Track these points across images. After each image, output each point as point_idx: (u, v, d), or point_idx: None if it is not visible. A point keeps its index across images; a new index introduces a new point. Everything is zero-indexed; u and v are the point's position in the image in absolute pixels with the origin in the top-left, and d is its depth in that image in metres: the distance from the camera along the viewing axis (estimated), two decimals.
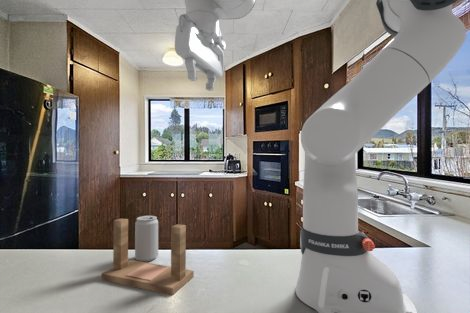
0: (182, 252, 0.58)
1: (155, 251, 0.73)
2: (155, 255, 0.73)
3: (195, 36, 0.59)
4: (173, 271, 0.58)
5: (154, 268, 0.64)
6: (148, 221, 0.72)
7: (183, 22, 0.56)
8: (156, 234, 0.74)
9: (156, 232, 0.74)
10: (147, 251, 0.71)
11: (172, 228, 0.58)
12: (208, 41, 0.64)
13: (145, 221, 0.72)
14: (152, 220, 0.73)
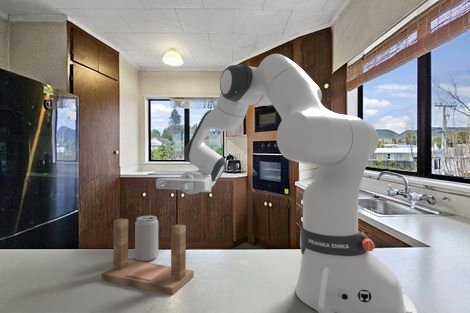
0: (182, 252, 0.58)
1: (155, 251, 0.73)
2: (155, 255, 0.73)
3: (171, 178, 0.97)
4: (173, 271, 0.58)
5: (154, 268, 0.64)
6: (148, 221, 0.72)
7: None
8: (156, 234, 0.74)
9: (156, 232, 0.74)
10: (147, 251, 0.71)
11: (172, 228, 0.58)
12: (184, 176, 0.96)
13: (145, 221, 0.72)
14: (152, 220, 0.73)
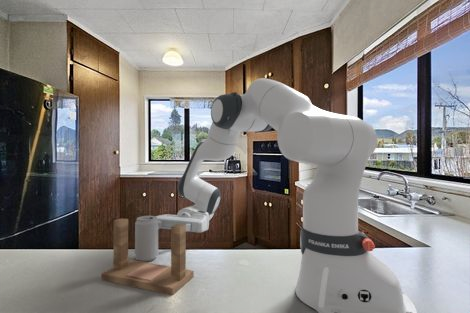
0: (182, 252, 0.58)
1: (155, 251, 0.73)
2: (155, 255, 0.73)
3: (167, 216, 0.94)
4: (173, 271, 0.58)
5: (154, 268, 0.64)
6: (148, 221, 0.72)
7: None
8: (156, 234, 0.74)
9: (156, 232, 0.74)
10: (147, 251, 0.71)
11: (172, 228, 0.58)
12: (180, 214, 0.93)
13: (145, 221, 0.72)
14: (152, 220, 0.73)
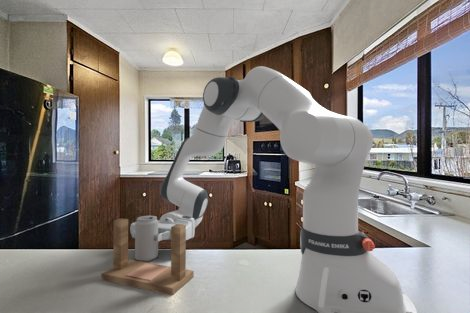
0: (182, 252, 0.58)
1: (155, 251, 0.73)
2: (155, 255, 0.73)
3: None
4: (173, 271, 0.58)
5: (154, 268, 0.64)
6: (148, 221, 0.72)
7: None
8: None
9: (156, 232, 0.74)
10: (147, 251, 0.71)
11: (172, 228, 0.58)
12: (163, 220, 0.84)
13: (145, 221, 0.72)
14: (152, 220, 0.73)
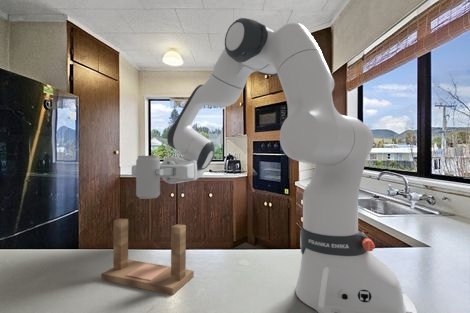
0: (182, 252, 0.58)
1: (157, 189, 0.71)
2: (157, 193, 0.71)
3: None
4: (173, 271, 0.58)
5: (154, 268, 0.64)
6: (149, 157, 0.70)
7: None
8: None
9: None
10: (149, 188, 0.69)
11: (172, 228, 0.58)
12: (165, 163, 0.82)
13: (146, 157, 0.70)
14: (153, 157, 0.71)
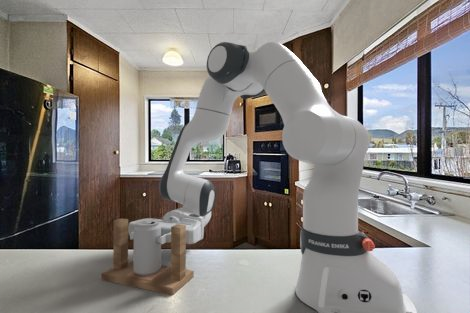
0: (182, 252, 0.58)
1: (158, 263, 0.61)
2: (158, 267, 0.61)
3: None
4: (173, 271, 0.58)
5: None
6: (149, 227, 0.60)
7: None
8: None
9: None
10: (148, 263, 0.59)
11: (172, 228, 0.58)
12: (167, 218, 0.72)
13: (146, 227, 0.59)
14: (154, 225, 0.60)
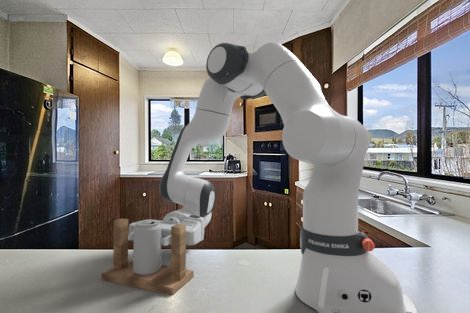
0: (182, 252, 0.58)
1: (158, 263, 0.61)
2: (158, 267, 0.61)
3: None
4: (173, 271, 0.58)
5: None
6: (149, 227, 0.60)
7: None
8: (159, 242, 0.61)
9: (159, 240, 0.61)
10: (148, 263, 0.59)
11: (172, 228, 0.58)
12: (167, 220, 0.71)
13: (146, 227, 0.59)
14: (154, 225, 0.60)
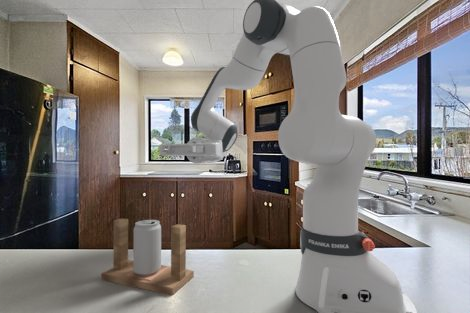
0: (182, 252, 0.58)
1: (158, 263, 0.61)
2: (158, 267, 0.61)
3: None
4: (173, 271, 0.58)
5: None
6: (149, 227, 0.60)
7: None
8: (159, 242, 0.61)
9: (159, 240, 0.61)
10: (148, 263, 0.59)
11: (172, 228, 0.58)
12: (191, 142, 0.84)
13: (146, 227, 0.59)
14: (154, 225, 0.60)
